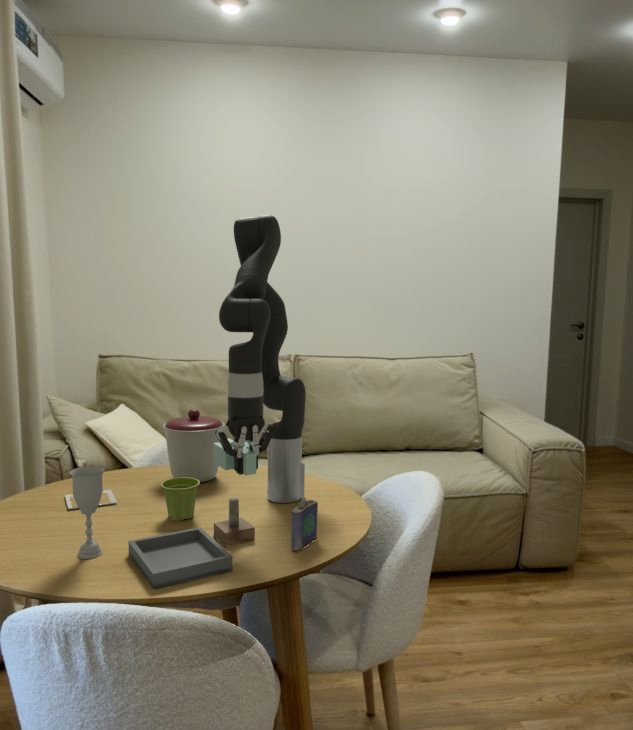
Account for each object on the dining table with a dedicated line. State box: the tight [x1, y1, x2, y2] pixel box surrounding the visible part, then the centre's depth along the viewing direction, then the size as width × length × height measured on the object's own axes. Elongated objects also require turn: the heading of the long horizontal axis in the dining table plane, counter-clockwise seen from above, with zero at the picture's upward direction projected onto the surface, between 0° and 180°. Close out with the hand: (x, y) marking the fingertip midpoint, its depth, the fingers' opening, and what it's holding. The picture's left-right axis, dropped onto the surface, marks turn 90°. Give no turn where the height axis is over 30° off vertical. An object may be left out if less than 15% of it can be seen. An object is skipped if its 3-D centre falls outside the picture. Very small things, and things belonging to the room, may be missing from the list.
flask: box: [290, 496, 319, 552], centre depth 138 cm, size 9×3×11 cm, turn 151°
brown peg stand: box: [213, 497, 256, 547], centre depth 141 cm, size 7×7×9 cm
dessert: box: [64, 489, 118, 510], centre depth 166 cm, size 12×12×5 cm
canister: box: [162, 408, 226, 483], centre depth 185 cm, size 18×18×21 cm
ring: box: [213, 440, 257, 476], centre depth 137 cm, size 7×12×4 cm, turn 31°
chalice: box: [69, 465, 105, 560], centre depth 131 cm, size 7×7×18 cm
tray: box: [127, 526, 234, 590], centre depth 128 cm, size 16×18×3 cm
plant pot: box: [160, 477, 201, 522], centre depth 154 cm, size 9×9×9 cm
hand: (246, 472), depth 134 cm, fingers closed on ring, 2 cm apart
